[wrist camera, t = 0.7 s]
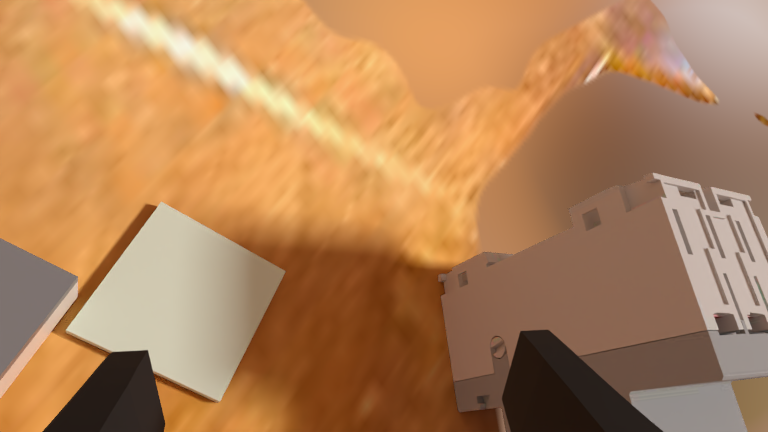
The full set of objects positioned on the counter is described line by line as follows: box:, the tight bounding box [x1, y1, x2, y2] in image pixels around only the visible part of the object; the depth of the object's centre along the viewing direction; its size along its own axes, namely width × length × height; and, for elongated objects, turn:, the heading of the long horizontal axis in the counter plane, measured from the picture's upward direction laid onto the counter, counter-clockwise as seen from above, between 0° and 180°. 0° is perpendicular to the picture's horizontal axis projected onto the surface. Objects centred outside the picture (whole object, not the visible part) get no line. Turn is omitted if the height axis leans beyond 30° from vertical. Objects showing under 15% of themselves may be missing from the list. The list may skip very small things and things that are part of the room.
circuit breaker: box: [438, 173, 768, 432], centre depth 25 cm, size 8×14×15 cm, turn 6°
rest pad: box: [66, 202, 286, 403], centre depth 23 cm, size 7×7×1 cm
